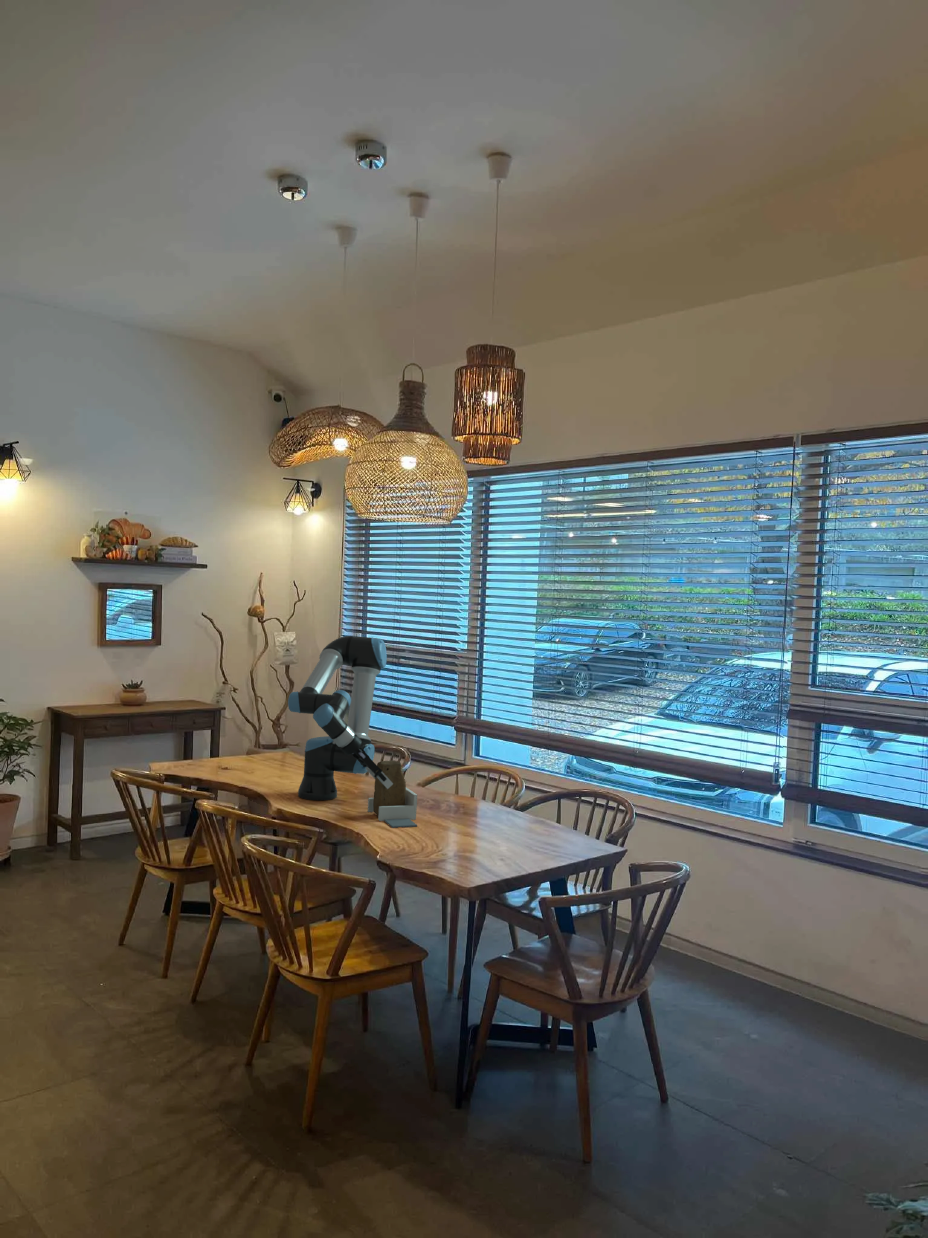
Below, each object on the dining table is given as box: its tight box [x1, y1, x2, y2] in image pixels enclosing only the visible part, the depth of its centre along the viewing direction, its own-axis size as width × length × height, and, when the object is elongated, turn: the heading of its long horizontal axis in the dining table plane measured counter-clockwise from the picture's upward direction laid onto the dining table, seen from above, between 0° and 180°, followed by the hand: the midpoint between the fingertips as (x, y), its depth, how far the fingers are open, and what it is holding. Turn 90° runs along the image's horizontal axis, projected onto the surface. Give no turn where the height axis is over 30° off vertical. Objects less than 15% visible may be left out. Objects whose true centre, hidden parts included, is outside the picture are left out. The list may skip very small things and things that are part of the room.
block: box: [373, 760, 407, 817], centre depth 325 cm, size 11×8×20 cm
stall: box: [367, 787, 418, 822], centre depth 325 cm, size 14×14×9 cm
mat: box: [383, 818, 418, 829], centre depth 314 cm, size 9×9×1 cm
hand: (384, 782), depth 322 cm, fingers open, 13 cm apart
